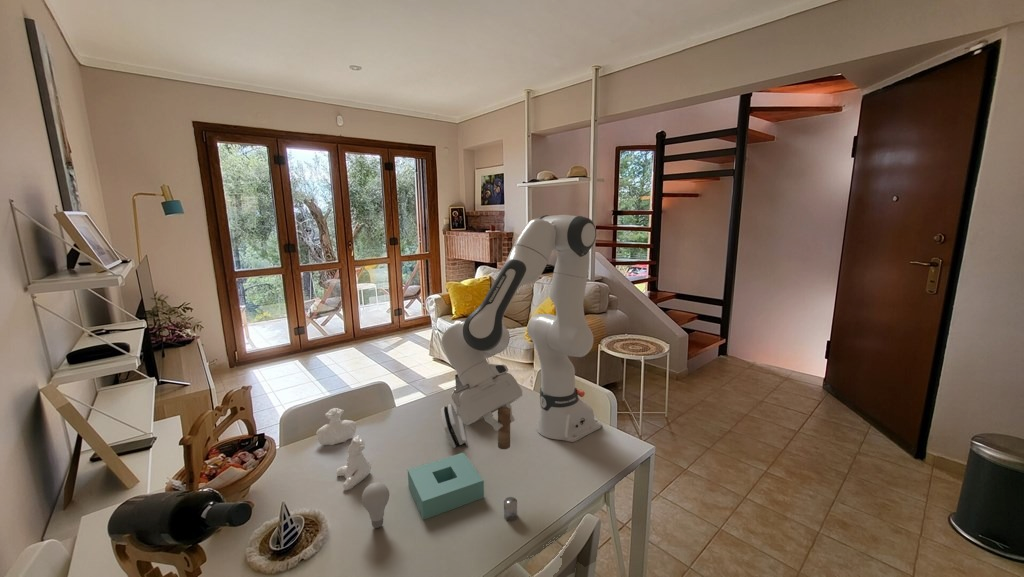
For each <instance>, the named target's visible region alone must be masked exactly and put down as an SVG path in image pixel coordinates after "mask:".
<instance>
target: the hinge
mask: <svg viewBox="0 0 1024 577" xmlns="http://www.w3.org/2000/svg"><path fill="white" fill-rule="evenodd" d="M440 414H441V416H440V417H441V422H442V426H443V429H444V432H445V434H446V437H447V438H448V441H449V443H450V445H451V448H452V449H455V448H457V445H459V446H461V445H463V444H465V445H466V446H469V443H468V438H467V434H466V429H465V424H464V423H463V422H462V420H461V418H460V416H457V411H456V409H455V408H454V405H453V404H452V403H450V404H447V406H443V407H442V408H441V409H440Z"/></svg>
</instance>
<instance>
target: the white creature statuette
mask: <svg viewBox="0 0 1024 577" xmlns="http://www.w3.org/2000/svg"><path fill="white" fill-rule="evenodd" d="M365 447H366V446H365V440H364V439H363V438H362V437H361V436H360V435H359V434H358V435H356V436H353V437H352V438H351V442H350V444H349V445H348V448H347V453H348V456H347V459H346V461H347V465H342V466H340V467H338V468H337V469H336V477H339V476H340V477H344V478H345V481H344V482H343V484H342V488H343V490H344V491H345V492H347V491H349V490H352V489H353V488H354V487H355V486H356V485H358V484H359V483H360V482H362V481H363V480H364V479H366V478H367V477H368V476H369V475H370V472H371V470H372V464H371V462H370V460H369V459H367V458H366V456H365V454H364V452H363V450H365Z"/></svg>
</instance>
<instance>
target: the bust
mask: <svg viewBox="0 0 1024 577" xmlns="http://www.w3.org/2000/svg"><path fill="white" fill-rule="evenodd" d="M344 412H345V410H344V409H341V408H338V407H333V408H330V409H329V410H328V411H327V412H326V413H324V416H325V417H326V418H327V420H329V419H330V420H329V421H328V422H329V423H326V424H324V425H323V426H321V427H320V428H318V429H317V431H316V433H315V436H316V439H317V440H318V443H319V444H320V445H321V446H335V445H337V444H341V443H345V442H347V441H348V440H350V439H353V437H355V434H356V430H357V423H356V422H355V421H354V420H349V419H344V420H342V419H341V417H342V415H344Z"/></svg>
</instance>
